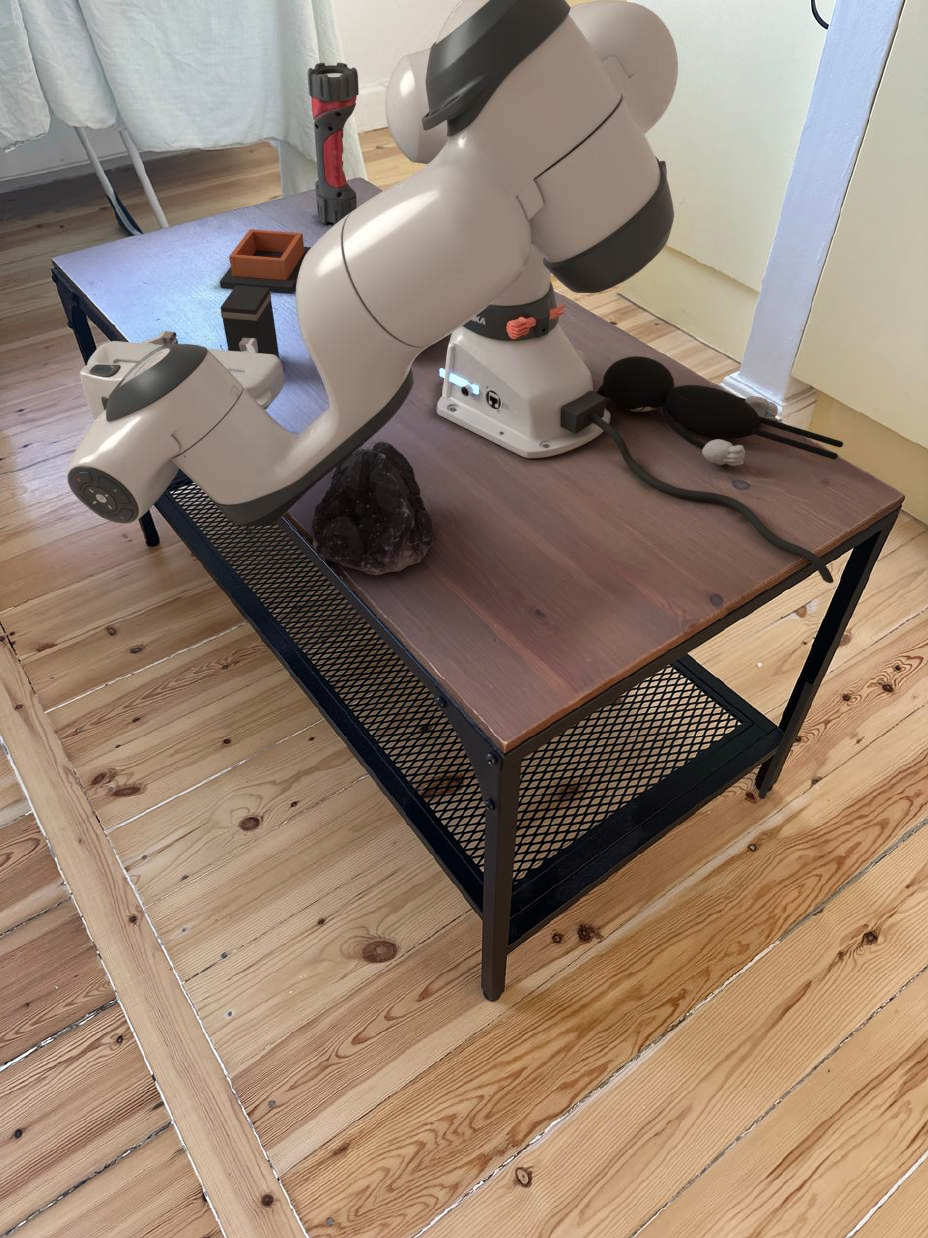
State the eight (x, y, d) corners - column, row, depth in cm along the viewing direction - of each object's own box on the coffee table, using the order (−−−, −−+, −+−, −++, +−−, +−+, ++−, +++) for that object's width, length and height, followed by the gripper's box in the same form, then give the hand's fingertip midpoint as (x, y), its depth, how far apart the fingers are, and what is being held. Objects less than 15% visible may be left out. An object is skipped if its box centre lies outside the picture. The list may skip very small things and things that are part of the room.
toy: (854, 437, 110) (626, 368, 122) (866, 392, 103) (622, 323, 115) (809, 524, 106) (578, 443, 118) (818, 483, 99) (571, 402, 111)
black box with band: (280, 359, 123) (270, 287, 116) (266, 383, 119) (255, 310, 112) (247, 356, 123) (235, 284, 116) (233, 380, 119) (219, 307, 112)
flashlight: (370, 228, 153) (361, 73, 137) (323, 232, 152) (308, 76, 136) (362, 210, 159) (352, 58, 142) (317, 214, 157) (302, 61, 141)
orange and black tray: (316, 253, 146) (314, 228, 144) (292, 293, 137) (288, 267, 134) (249, 248, 147) (245, 223, 145) (220, 287, 138) (215, 261, 135)
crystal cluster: (367, 606, 91) (374, 528, 84) (278, 536, 97) (277, 457, 90) (458, 549, 99) (471, 474, 92) (371, 487, 104) (377, 412, 97)
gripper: (259, 386, 92) (296, 321, 102) (63, 369, 94) (119, 307, 104) (267, 440, 96) (303, 372, 106) (81, 423, 98) (132, 358, 108)
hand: (210, 340), depth 105 cm, fingers open, 8 cm apart
